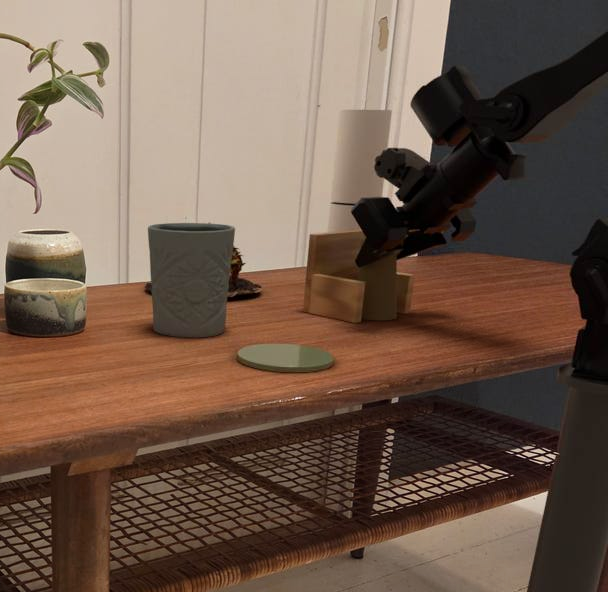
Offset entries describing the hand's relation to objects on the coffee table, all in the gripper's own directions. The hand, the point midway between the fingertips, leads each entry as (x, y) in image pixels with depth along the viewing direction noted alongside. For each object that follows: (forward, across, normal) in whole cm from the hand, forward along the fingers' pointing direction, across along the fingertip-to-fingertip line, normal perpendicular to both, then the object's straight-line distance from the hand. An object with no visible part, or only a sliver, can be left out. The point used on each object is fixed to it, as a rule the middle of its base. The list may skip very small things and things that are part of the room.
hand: (370, 262), depth 114 cm
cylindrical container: (+14, -12, -4) cm, 19 cm away
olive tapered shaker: (+4, 0, +6) cm, 7 cm away
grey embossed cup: (+9, +26, 0) cm, 27 cm away
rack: (+6, 0, +4) cm, 7 cm away
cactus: (+22, +7, -12) cm, 26 cm away
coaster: (-3, +27, +12) cm, 30 cm away
